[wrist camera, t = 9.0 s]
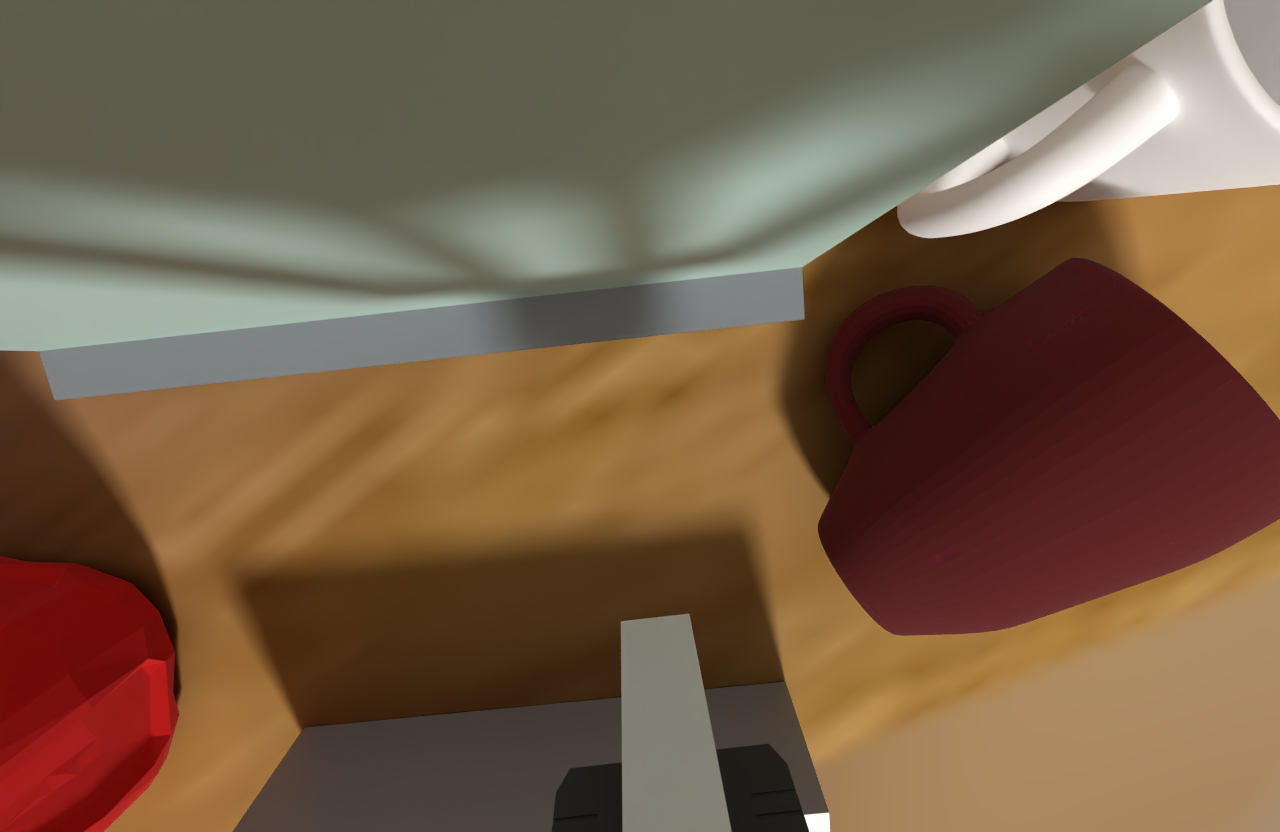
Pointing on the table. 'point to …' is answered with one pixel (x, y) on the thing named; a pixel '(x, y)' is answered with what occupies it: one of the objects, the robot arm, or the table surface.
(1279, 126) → the cup
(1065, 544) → the mug
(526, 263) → the lid
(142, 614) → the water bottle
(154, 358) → the grey long flat pieces
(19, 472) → the table surface
